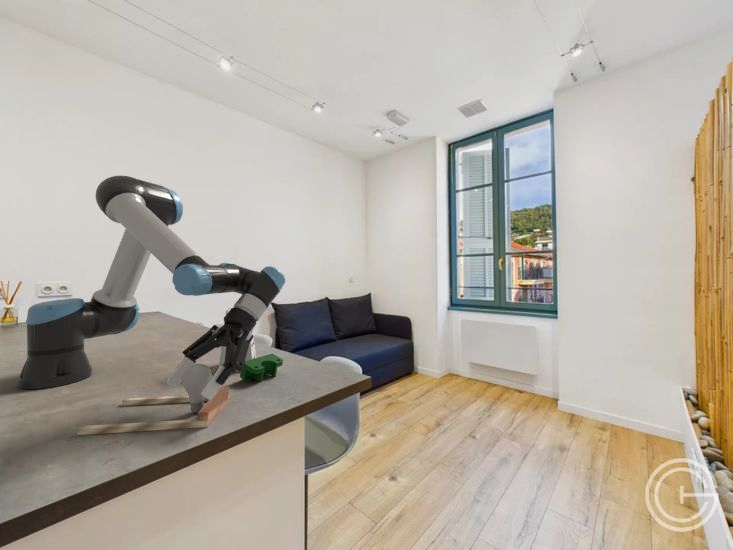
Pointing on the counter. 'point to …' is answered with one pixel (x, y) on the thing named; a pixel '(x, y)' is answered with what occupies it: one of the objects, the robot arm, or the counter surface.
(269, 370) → the clamp
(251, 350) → the grater
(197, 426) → the guide
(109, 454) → the counter surface
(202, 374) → the lightbulb
